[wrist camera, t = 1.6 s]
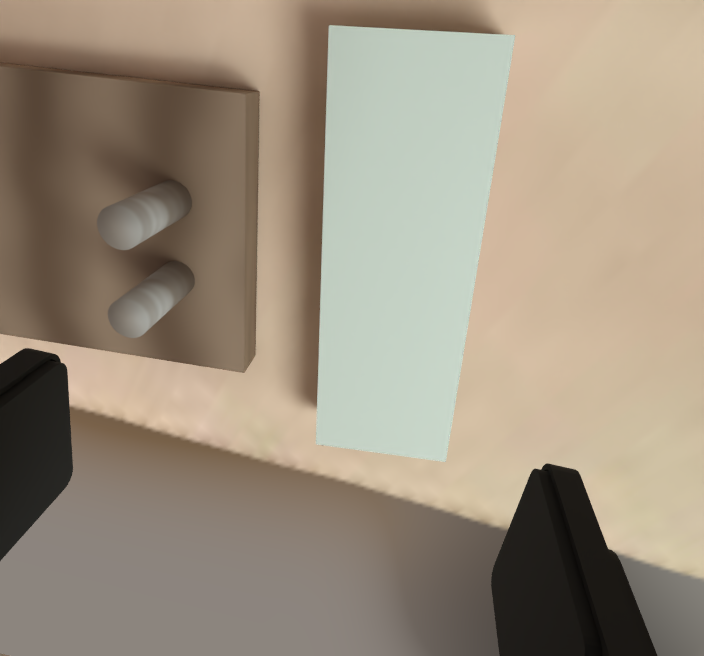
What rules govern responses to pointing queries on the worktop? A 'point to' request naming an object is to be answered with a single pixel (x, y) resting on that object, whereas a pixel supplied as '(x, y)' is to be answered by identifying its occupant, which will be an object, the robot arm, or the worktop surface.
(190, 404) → the worktop surface
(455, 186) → the shelf board
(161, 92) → the peg stand
